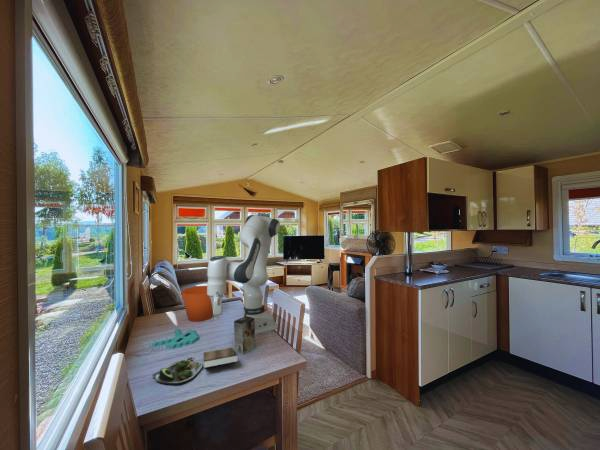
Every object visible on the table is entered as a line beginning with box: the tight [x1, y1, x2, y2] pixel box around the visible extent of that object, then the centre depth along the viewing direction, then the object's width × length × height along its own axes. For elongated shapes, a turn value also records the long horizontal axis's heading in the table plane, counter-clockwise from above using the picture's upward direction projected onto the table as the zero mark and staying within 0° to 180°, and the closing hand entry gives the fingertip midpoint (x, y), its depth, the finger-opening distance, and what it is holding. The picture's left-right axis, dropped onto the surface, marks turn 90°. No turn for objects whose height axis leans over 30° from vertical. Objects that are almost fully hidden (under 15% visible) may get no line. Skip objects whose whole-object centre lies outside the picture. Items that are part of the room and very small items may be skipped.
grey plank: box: [203, 355, 238, 369], centre depth 116 cm, size 14×9×2 cm, turn 112°
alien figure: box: [151, 328, 200, 350], centre depth 145 cm, size 20×2×20 cm
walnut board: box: [203, 347, 236, 363], centre depth 124 cm, size 14×9×2 cm, turn 112°
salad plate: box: [151, 357, 203, 387], centre depth 113 cm, size 19×18×5 cm
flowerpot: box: [180, 285, 214, 323], centre depth 180 cm, size 25×25×20 cm
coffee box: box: [233, 316, 256, 356], centre depth 133 cm, size 9×6×16 cm
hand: (216, 319), depth 121 cm, fingers closed
